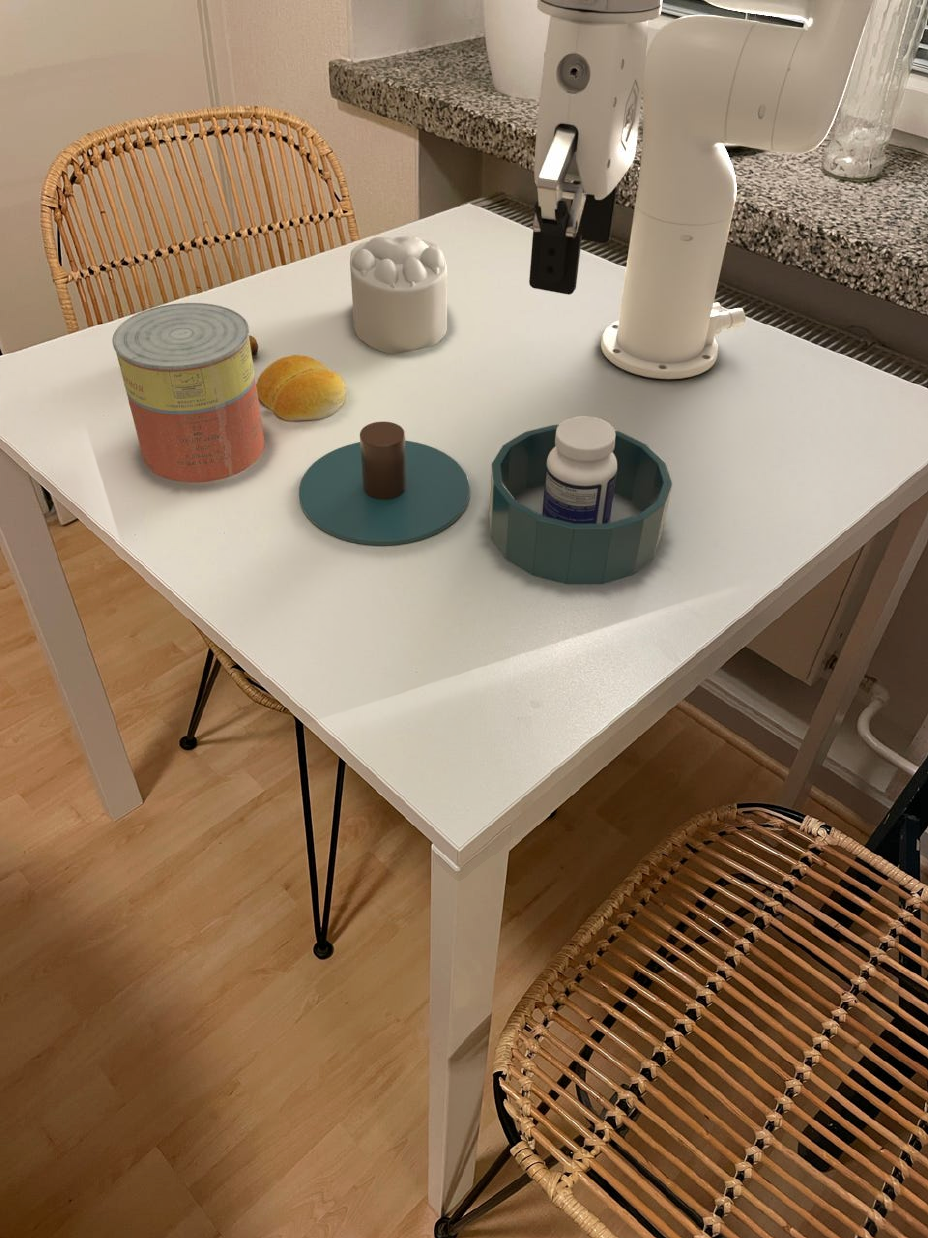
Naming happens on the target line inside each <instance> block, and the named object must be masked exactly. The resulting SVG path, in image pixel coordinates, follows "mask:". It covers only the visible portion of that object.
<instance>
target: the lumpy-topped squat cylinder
mask: <svg viewBox="0 0 928 1238" xmlns="http://www.w3.org/2000/svg"><path fill="white" fill-rule="evenodd" d="M349 267H350V268H349V269H350V283H351V284H350V285H351V299H352V313H353V314H352V316H353V327H354V331H355V335H356V336H357V338H358V339H359V340H361V341H362V342H363V343H365V344H366V345H367V346H369V347H370V348H372V349H374V350H377V351H380V352H382V353H385V354H389V355H397V354H402V353H407V352H412V351H416V350H422V349H427V348H432V347H435V346H436V345H438V344H439V343H440V341H441V340H442V339H443V338H444V337H445V336H446V334H447V331H448V265H447V261H446V258H445V256H444V254H443V251H442V250H441V248H440V247H439V246H438V245H437V244H436V243H434V242H431V241H428V240H425V239H421V238H420V237H418V236H416V235H405V236H397V237H395V236H394V237H393V236H392V237H391V236H377V237H373V238H371V239H370V240H368V241H364V242H361V243H359V244H357V245H355V246H354V247H353V248H352V249H351V252H350V257H349Z"/></svg>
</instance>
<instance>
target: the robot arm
mask: <svg viewBox="0 0 928 1238" xmlns="http://www.w3.org/2000/svg"><path fill="white" fill-rule="evenodd" d="M874 1H875V0H704V2H706V3H708V4H711V5H712V6H715V7H718V8H722V9H726V10H731V11H737V12H742V13H749V14H755V15H756V14H757V15H762V16H763V15H764V16H770V17H771V16H772V17H780V18H787V19H792V20H793V19H794V20H800V21H804V23H806V24H807V26H808V27H798V26H791V25H784V24H783V25H782V24H775V23H768V22H762V21H759V20H751V19H743V18H735V17H730V16H729V17H728V16H720V15H709V14H695V15H685V16H682V17H678V18H676V19H674V20H671V21H670V22H668V23H666V24H665V25H664V26H662V27H661V28H660V29H659V30H658V32H656V34H655V35H654V37H653V38H652V40H651V42H650V44H649V47H648V34H649V33H648V32H649V21H654V20H656V19H658V18H659V17H660V16H661V13H662V7H663V0H537V6H536V7H537V9H538V11H540V12H541V13H543V14H545V15H548V16H550V17H549V25H548V32H547V38H546V45H545V51H544V55H543V57H544V59H543V68H542V74H541V75H542V76H541V83H540V93H539V102H538V113H537V122H536V134H535V145H534V164H533V165H534V166H533V171H534V175H533V176H534V183H535V185H536V189H537V201H536V202H535V204H534V209H535V210H534V218H533V224H532V240H531V252H530V264H529V265H530V267H529V279H528V283H529V286H530V287H531V288H532V289H535V290H541V291H546V292H553V293H557V294H563V295H569V296H570V295H572V294H574V292H575V290H576V289H577V283H578V275H579V273H578V272H579V265H580V264H579V263H580V255H581V248H582V240H583V241H588V242H589V241H590V242H594V243H600V244H606V243H608V242H609V240H610V239H611V236H612V230H613V222H614V215H615V208H616V200H617V194H618V193H617V192H618V186H617V185H618V184H619V183H620V182H621V180H622V179H623V177H624V176H625V175H626V173H627V172H628V171H629V169H630V168H631V166H632V164H633V163H634V161H635V158H636V153H637V147H638V145H637V144H638V137H639V128H640V127H639V126H640V117H641V108H642V145H641V155H640V165H639V173H638V180H637V181H638V183H637V190H636V196H635V204H634V209H633V217H632V224H631V231H630V239H629V246H628V253H627V259H626V266H625V267H626V268H625V274H624V279H623V280H624V281H623V286H622V287H623V288H622V295H621V301H620V307H619V308H620V310H619V315H618V320H616V321H614V322H612V323H611V324H609V325H608V326H607V327H605V330H603V333H602V335H601V341H600V348H601V351H602V354H603V355H604V357H606V359H607V360H609V362H610V363H612V364H613V365H614V366H616V367H618V368H620V369H622V370H623V371H626V372H628V373H630V374H633V375H635V376H636V375H637V376H641V377H645V378H650V379H659V380H661V379H662V380H678V379H686V378H687V379H688V378H691V377H694V376H698V375H700V374H703V373H704V372H706V371H708V370H710V369H711V368H712V367H714V365H715V363H716V362H717V358H718V353H719V344H718V342H717V340H716V338H715V335H718V334H720V333H721V332H722V330H725V329H732V328H736V327H740V326H743V325H744V324H745V323H746V313H745V310H744V309H743V308H742V307H737V308H736V307H735V308H732V309H727V310H725V311H722V306H721V304H720V302H715V299H716V294H717V289H718V284H719V280H720V274H721V270H722V267H723V262H724V256H725V251H726V248H727V247H726V246H727V242H728V237H729V233H730V228H731V223H732V219H733V214H734V210H735V205H736V200H737V180H736V179H737V178H736V174H735V170H734V166H733V164H732V162H731V159H730V157H729V153H728V152H727V149H726V148H725V145H733V146H740V147H746V148H751V149H757V150H762V151H768V152H777V153H782V154H791V155H801V154H806V153H807V154H808V153H810V152H811V151H813V150H815V149H817V148H818V147H819V146H820V145H821V144H822V143H823V142H824V141H825V139H826V138H827V136H828V134H829V132H830V131H831V128H832V126H833V124H834V121H835V119H836V117H837V115H838V111H839V108H840V106H841V103H842V100H843V97H844V94H845V92H846V88H847V85H848V81H849V78H850V75H851V72H852V70H853V66H854V63H855V60H856V57H857V54H858V51H859V47H860V44H861V41H862V38H863V35H864V32H865V29H866V26H867V23H868V19H869V17H870V13H871V10H872V7H873V5H874ZM647 47H648V48H647ZM641 106H642V107H641ZM565 180H569V181H573V182H567V181H565ZM562 199H566V200H567V199H568V200H570V207H568V204H567V201H565V200H562Z"/></svg>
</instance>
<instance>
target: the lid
mask: <svg viewBox="0 0 928 1238" xmlns="http://www.w3.org/2000/svg"><path fill="white" fill-rule="evenodd" d="M470 496H471V484H470V480H469V477H468V475H467V473H466V472H465V469H464V467H462V465H461V464H460V463H458V461H456V459H454V458H453V457H451V456H450V455H449V454H447V453H446V452H444V451H442V450H440V449H438V448H436V447H433V446H429V445H427V444H423V443H420V442H417V441H411V440H406V432H405V429H404V428H403V427H402V426H401V425H399V424H397V423H395V422H391V421H375V422H371V423H369V424H366V425H365V426H363V427H362V429H361V430H360V432H359V441H358V442H353V443H350V444H346V445H343V446H341V447H337V448H336V449H334V450H332V451H329V452H328V453H326V454H324V455H323V456H321V457H320V458H318V459H317V460H315V461H314V462H313V463H312V464H311V465H310V466H309V467H308V469H307V470H306V472H305V473H304V474H303V476H302V478H301V480H300V483H299V487H298V498H299V503H300V507H301V509H302V512H303V513H304V514H305V516H306V518H308V520H309V521H310V522H311V523H312V524H313V525H314V526H316V527H317V528H318V529H320V530H321V531H322V532H324V533H326V534H327V535H329V536H333V537H334V538H337V539H340V540H343V541H346V542H350V543H355V544H360V545H368V546H396V545H398V546H399V545H403V544H404V545H405V544H409V543H415V542H419V541H422V540H424V539H427V538H430V537H433V536H434V535H438V534H439V533H441V532H443V531H444V530H446V529H448V528H449V527H450V526H451V525H453V524H454V523H456V521H458V519H459V518H460V517H461V516H462V515H463V513H464V512H465V510H466V508H467V507H468V504H469V501H470Z"/></svg>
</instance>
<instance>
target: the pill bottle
mask: <svg viewBox="0 0 928 1238" xmlns="http://www.w3.org/2000/svg"><path fill="white" fill-rule="evenodd" d="M557 425H558V427H557V429H556V436H555V447H554V448H553V449H552V450H551V452H550V453H549V455H548V458H547V464H546V476H545V484H544V488H543V501H542V511H541V512H542V513H541V515H542V516H545V517H549V518H553V519H558V520H562V521H566V522H570V523H574V524H608V523H611V522H610V521H611V514H612V508H613V500H614V493H615V492H614V488H615V481H616V473H617V460H616V457H615V455H614V454H613V452H612V451H613V450H614V447H615V436H616V434H615V431H616V430H615V428H614V426H613V425H612V424H610V423H609V422H607V421H606V420H604V419H601V418H599V417H594V416H588V415H579V416H578V415H577V416H573V417H569V418H566V419H564V420H563V421H561V422H560V423H559V424H557Z"/></svg>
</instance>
